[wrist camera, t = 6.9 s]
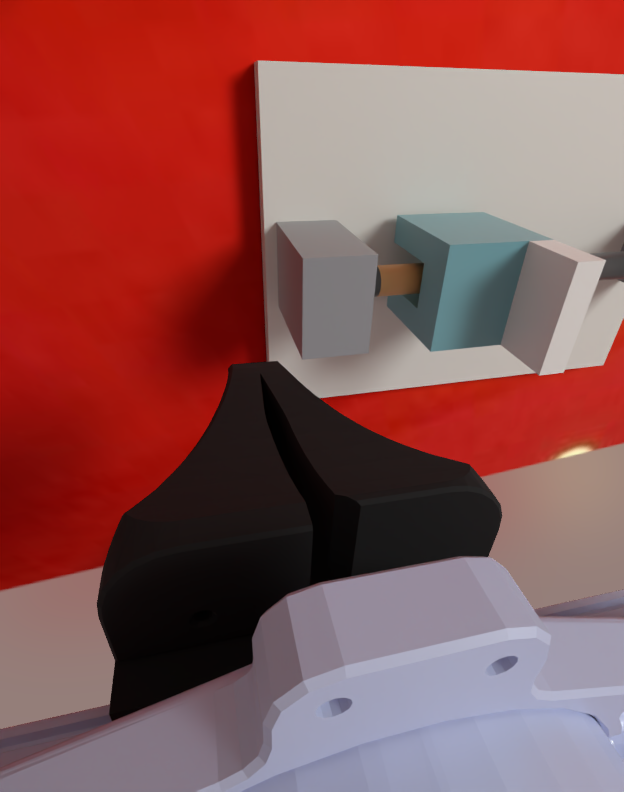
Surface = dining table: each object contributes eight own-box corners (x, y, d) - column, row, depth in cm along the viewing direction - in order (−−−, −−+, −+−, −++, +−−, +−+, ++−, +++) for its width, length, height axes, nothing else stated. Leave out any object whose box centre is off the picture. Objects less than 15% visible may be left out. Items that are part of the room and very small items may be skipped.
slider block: (464, 300, 22) (563, 372, 16) (386, 306, 21) (462, 384, 15) (483, 212, 20) (606, 260, 14) (397, 214, 19) (489, 267, 13)
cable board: (590, 357, 28) (677, 412, 23) (268, 393, 24) (289, 470, 19) (704, 78, 20) (871, 74, 15) (254, 62, 16) (284, 48, 11)
